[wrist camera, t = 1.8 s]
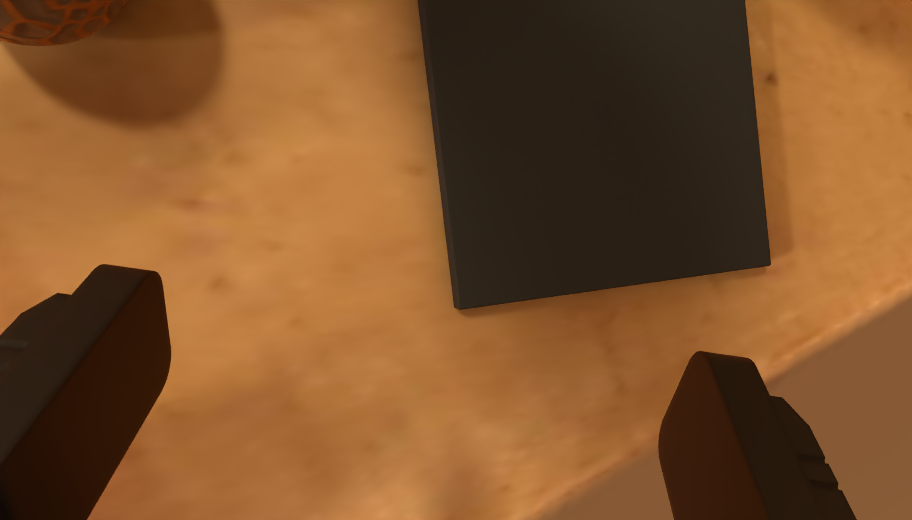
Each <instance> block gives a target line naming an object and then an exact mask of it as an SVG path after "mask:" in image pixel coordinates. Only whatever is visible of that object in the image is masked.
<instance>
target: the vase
mask: <svg viewBox="0 0 912 520" xmlns="http://www.w3.org/2000/svg"><path fill="white" fill-rule="evenodd" d="M126 2H127V0H0V41H4V42H9V43H14V44H20V45H29V46H49V45H60V44H66V43H70V42H74V41H77V40H80V39H83V38H85V37H87V36H89V35H91V34H93V33H95V32H97V31H98V30H100V29H101V28H103V27H104V26H106V25H107V24H108V23H109V22H110V21H111V20H112V19H113V18H115V16H116V15H117V14H118V13H119V12H120V11H121V9H122V8H123V6H124V5H125V3H126Z"/></svg>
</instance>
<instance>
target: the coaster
mask: <svg viewBox="0 0 912 520" xmlns="http://www.w3.org/2000/svg"><path fill="white" fill-rule="evenodd" d="M418 6H419V14H420V23H421V31H422V40H423V48H424V56H425V65H426V73H427V82H428V90H429V99H430V107H431V116H432V124H433V132H434V141H435V149H436V158H437V166H438V175H439V183H440V192H441V200H442V208H443V217H444V225H445V234H446V242H447V251H448V259H449V268H450V276H451V285H452V293H453V301H454V307H455V308H457V309H460V310H462V309H469V308H476V307H484V306H491V305H498V304H505V303H512V302H519V301H526V300H533V299H540V298H547V297H554V296H561V295H568V294H575V293H582V292H589V291H596V290H603V289H610V288H617V287H624V286H631V285H638V284H645V283H652V282H659V281H666V280H673V279H680V278H687V277H694V276H701V275H708V274H715V273H723V272H730V271H737V270H744V269H751V268H758V267H765V266H770V265H771V260H770V250H769V240H768V229H767V219H766V209H765V199H764V189H763V179H762V169H761V159H760V149H759V138H758V128H757V118H756V108H755V98H754V88H753V78H752V68H751V58H750V47H749V37H748V27H747V17H746V7H745V0H418Z"/></svg>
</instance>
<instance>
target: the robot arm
mask: <svg viewBox="0 0 912 520" xmlns="http://www.w3.org/2000/svg"><path fill="white" fill-rule="evenodd" d="M170 362H171V345H170V337H169V329H168V322H167V314H166V306H165V299H164V291H163V284H162V280H161V277H160V275H159V274H158V273H157V272H155V271H150V270H143V269H136V268H129V267H122V266H115V265H108V264H102V265H99V266H98V267H96V268H95V269H94V270H93V271H92V272H91V273H90V275H89V276H88V277H87V278H86V279H85V280H84V281H83V282H82V284H81V285H80V286H79V287H78V288H77V289H76V290H75V292H74V293H73V294H72V295H68V294H61V293H57V294H55V295H53V296H51V297H50V298H48V299H46V300H44V301H43V302H41V303H39V304H37V305H35V306H34V307H32V308H30V309H28V310H27V311H25V312H23V313H21V314H20V315H19V316H18V317H17V319H16V320H15V321H14V322H13V323H12V324H11V325H10V326H9V327H8V328H7V329H6V330H5V331H4V332H3V333H2V334H1V335H0V520H87V518H88V517H89V515H90V513H91V512H92V510H93V508H94V506H95V505H96V503H97V501H98V500H99V498H100V496H101V494H102V493H103V491H104V489H105V488H106V486H107V484H108V482H109V481H110V479H111V477H112V476H113V474H114V472H115V470H116V469H117V467H118V465H119V464H120V462H121V460H122V458H123V457H124V455H125V453H126V452H127V450H128V448H129V446H130V445H131V443H132V441H133V440H134V438H135V436H136V434H137V433H138V431H139V429H140V428H141V426H142V424H143V422H144V421H145V419H146V417H147V416H148V414H149V412H150V410H151V409H152V407H153V405H154V403H155V402H156V400H157V398H158V397H159V395H160V393H161V391H162V389H163V387H164V385H165V383H166V380H167V376H168V373H169V368H170ZM658 448H659V459H660V464H661V468H662V472H663V476H664V480H665V484H666V488H667V492H668V496H669V500H670V505H671V509H672V513H673V517H674V520H857V519H856V518H855V516H854V513H853V512H852V509H851V508H850V506H849V504H848V502H847V500H846V498H845V496H844V494H843V492H842V490H838V482H837V480H836V478H835V476H834V474H833V472H832V470H831V468H830V466H829V464H826V463H825V461H824V460H825V456H824V454H823V452H822V450H821V448H820V446H819V444H818V442H817V440H816V438H815V437H814V434H813V432H812V430H811V429H810V426H809V425H808V424H807V423H806V422H805V421H804V420H803V419H802V418H801V417H800V416H799V415H798V414H797V413H796V412H795V411H794V409H792V407H791V406H790V405H789V404H788V403H787V402H786V401H785V400H784V399H783V398H781V397H775V396H770V395H769V393H768V391H767V389H766V386H765V384H764V382H763V380H762V378H761V376H760V373H759V371H758V369H757V367H756V365H755V363H754V362H753V361H752V360H751V359H749V358H745V357H738V356H731V355H724V354H717V353H710V352H703V351H698V352H696V353H695V354H694V355H693V356H692V357H691V359H690V361H689V363H688V365H687V367H686V369H685V371H684V374H683V376H682V378H681V380H680V382H679V385H678V387H677V389H676V391H675V394H674V396H673V398H672V400H671V402H670V405H669V407H668V409H667V411H666V414H665V416H664V418H663V421H662V424H661V428H660V433H659V446H658Z"/></svg>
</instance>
